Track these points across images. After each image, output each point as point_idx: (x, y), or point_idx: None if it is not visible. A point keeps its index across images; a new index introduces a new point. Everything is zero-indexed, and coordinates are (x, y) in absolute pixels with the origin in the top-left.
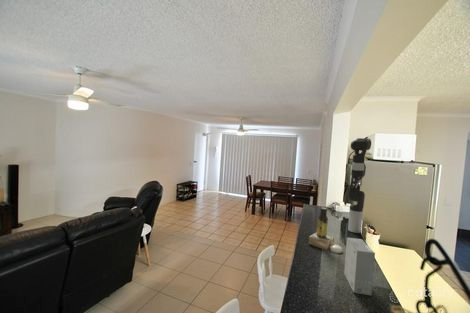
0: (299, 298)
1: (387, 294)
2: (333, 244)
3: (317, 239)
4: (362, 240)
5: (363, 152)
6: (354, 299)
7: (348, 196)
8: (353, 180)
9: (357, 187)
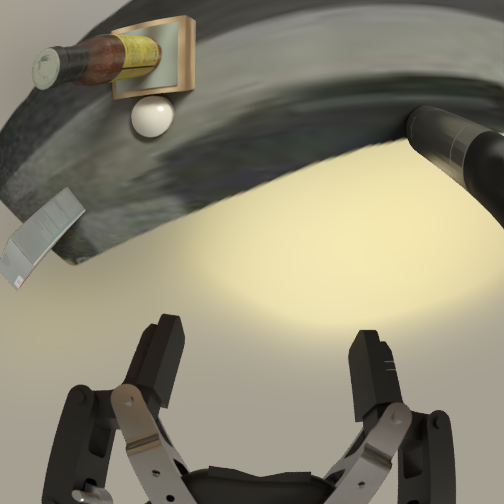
0: None
1: (84, 255)
2: (163, 101)
3: None
4: (30, 268)
5: None
6: None
7: None
8: (60, 487)
9: (366, 394)
